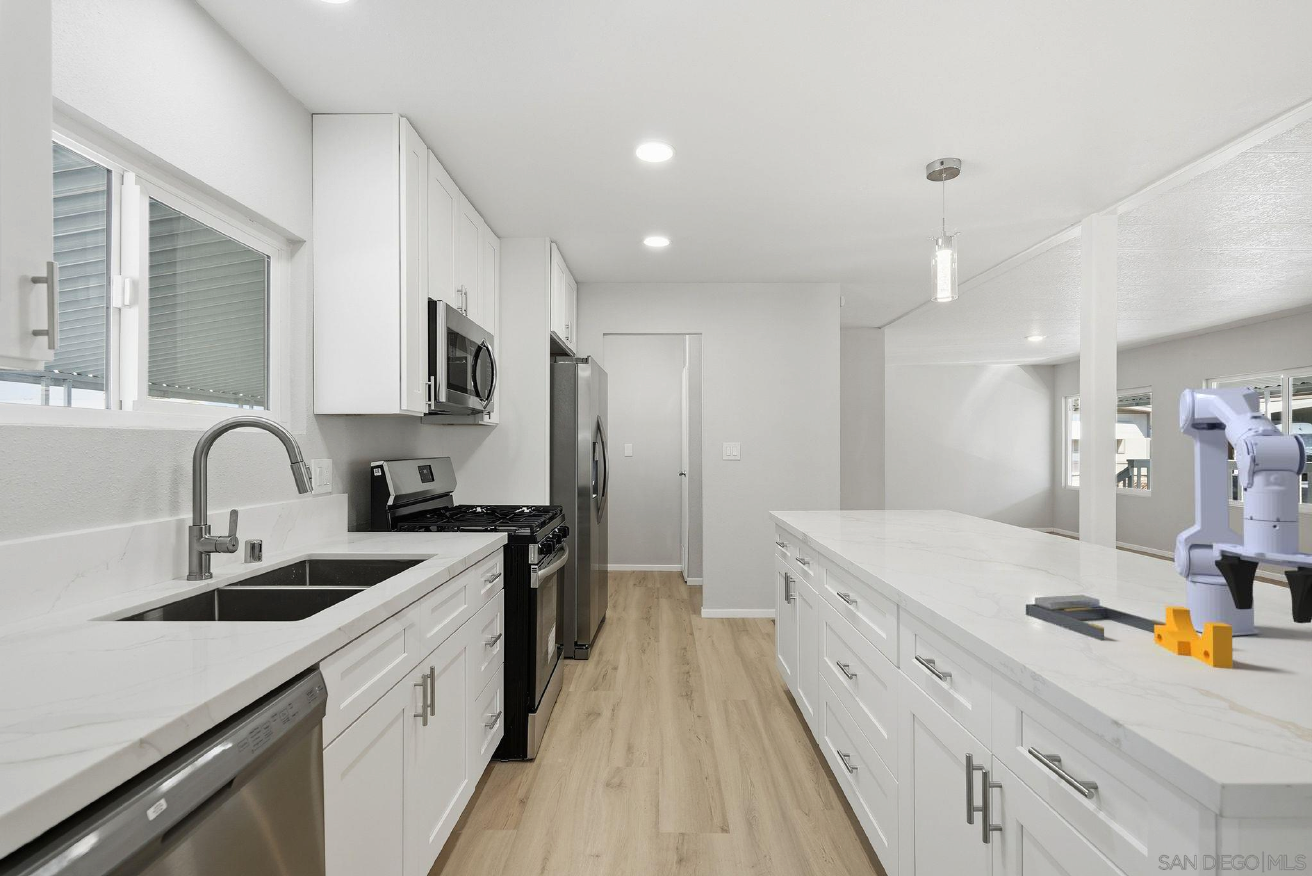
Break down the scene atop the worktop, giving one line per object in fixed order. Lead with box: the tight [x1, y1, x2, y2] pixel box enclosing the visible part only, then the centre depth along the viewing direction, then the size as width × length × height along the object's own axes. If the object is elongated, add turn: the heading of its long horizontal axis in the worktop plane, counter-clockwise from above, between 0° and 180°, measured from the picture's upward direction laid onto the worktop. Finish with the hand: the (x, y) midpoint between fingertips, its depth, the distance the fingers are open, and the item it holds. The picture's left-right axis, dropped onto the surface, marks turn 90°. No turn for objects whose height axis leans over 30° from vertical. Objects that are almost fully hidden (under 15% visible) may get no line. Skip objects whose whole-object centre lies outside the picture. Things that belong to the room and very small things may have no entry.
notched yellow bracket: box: [1153, 605, 1234, 669], centre depth 104 cm, size 12×4×6 cm, turn 170°
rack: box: [1025, 594, 1166, 641], centre depth 122 cm, size 14×17×4 cm
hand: (1271, 615), depth 92 cm, fingers open, 7 cm apart
